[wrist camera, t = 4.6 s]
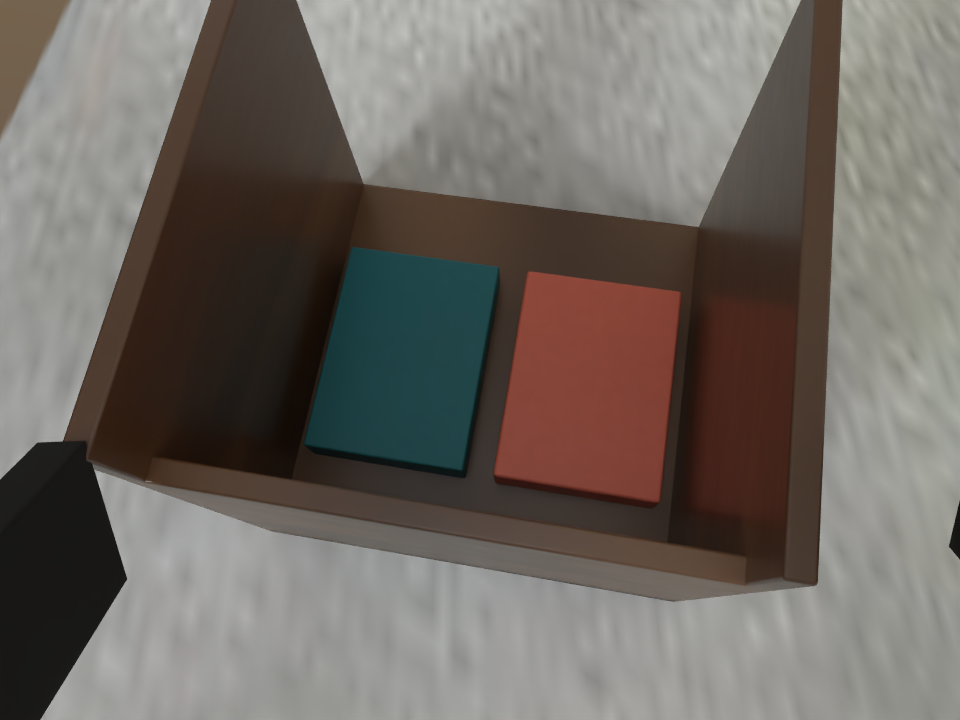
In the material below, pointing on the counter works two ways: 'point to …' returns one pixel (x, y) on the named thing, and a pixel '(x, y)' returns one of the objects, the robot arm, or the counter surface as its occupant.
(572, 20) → the counter surface
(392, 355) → the packet teal
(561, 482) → the packet coral
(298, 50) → the brown wooden open box
